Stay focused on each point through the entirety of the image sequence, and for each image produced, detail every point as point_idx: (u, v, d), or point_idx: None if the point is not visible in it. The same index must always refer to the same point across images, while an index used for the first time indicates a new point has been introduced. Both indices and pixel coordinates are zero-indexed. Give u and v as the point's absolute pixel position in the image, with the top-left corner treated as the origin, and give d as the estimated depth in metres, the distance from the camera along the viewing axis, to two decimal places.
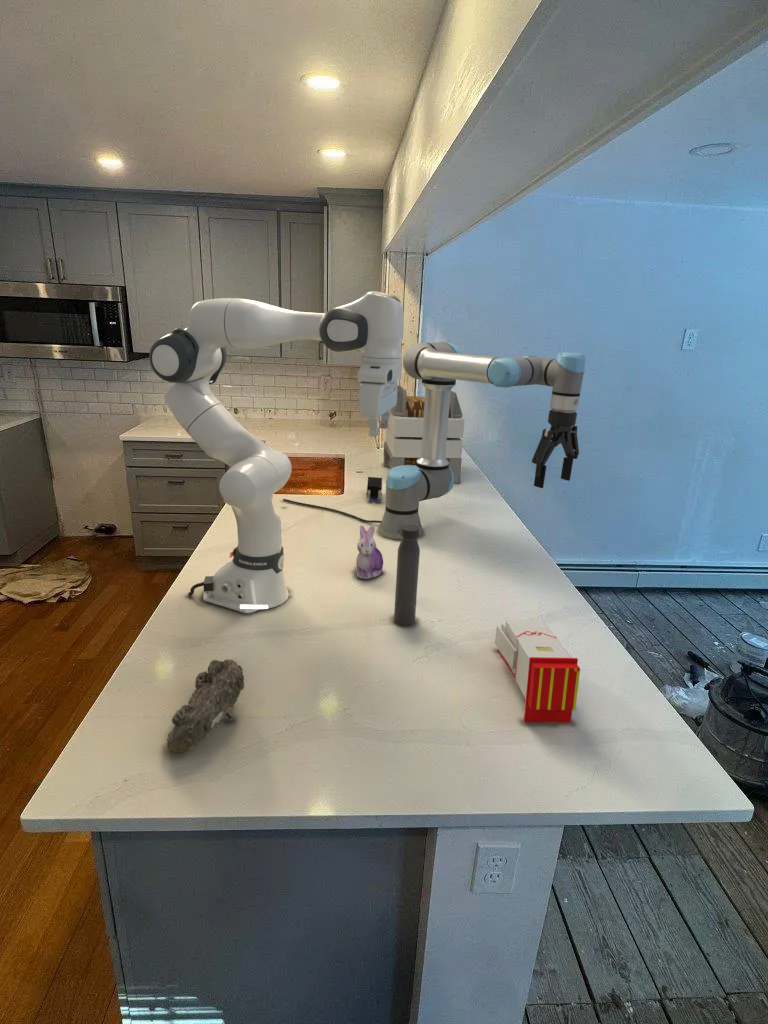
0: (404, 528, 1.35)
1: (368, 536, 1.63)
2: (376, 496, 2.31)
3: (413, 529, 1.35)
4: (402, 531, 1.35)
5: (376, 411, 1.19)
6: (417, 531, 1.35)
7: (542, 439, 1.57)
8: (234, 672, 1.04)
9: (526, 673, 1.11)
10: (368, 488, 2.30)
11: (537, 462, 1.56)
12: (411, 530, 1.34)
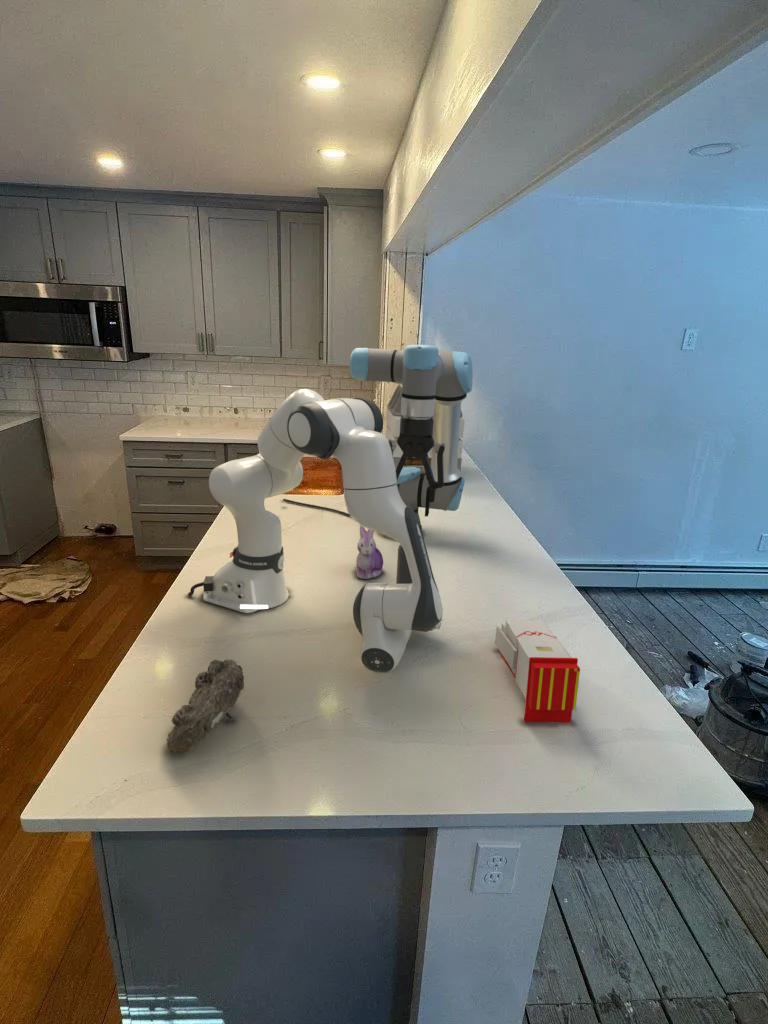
0: None
1: (368, 536, 1.63)
2: None
3: None
4: None
5: None
6: None
7: (442, 458, 1.29)
8: (234, 672, 1.04)
9: (526, 673, 1.11)
10: None
11: (443, 483, 1.32)
12: None
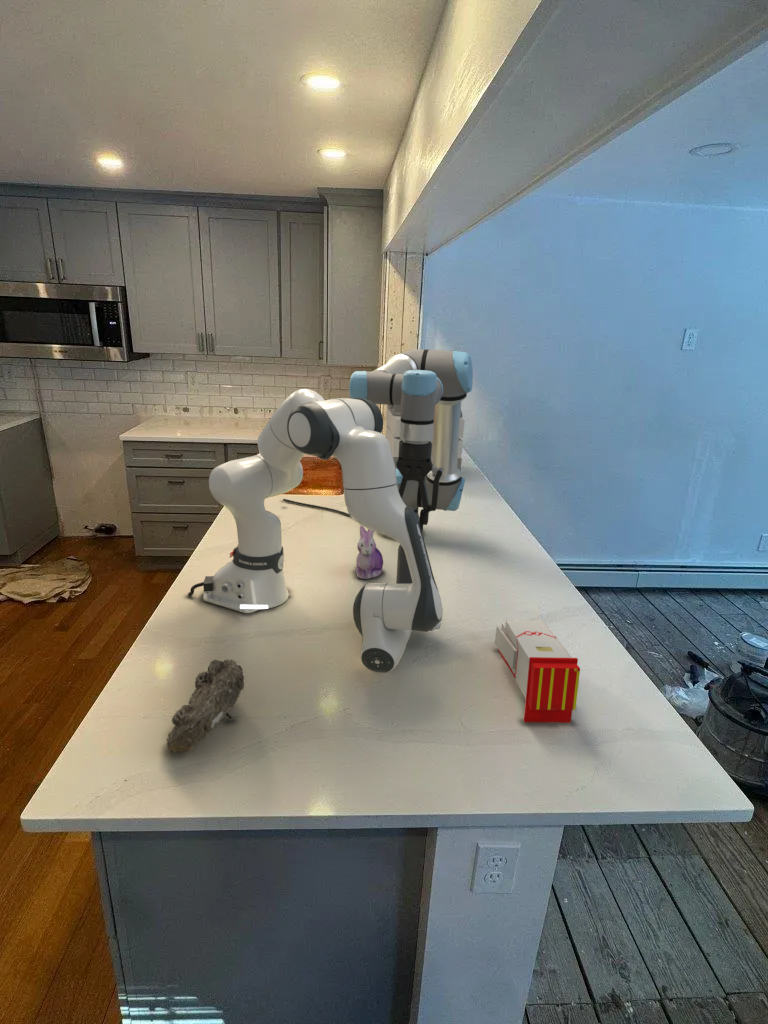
0: None
1: (368, 536, 1.63)
2: None
3: None
4: None
5: None
6: None
7: (438, 482, 1.31)
8: (234, 672, 1.04)
9: (526, 673, 1.11)
10: None
11: None
12: None
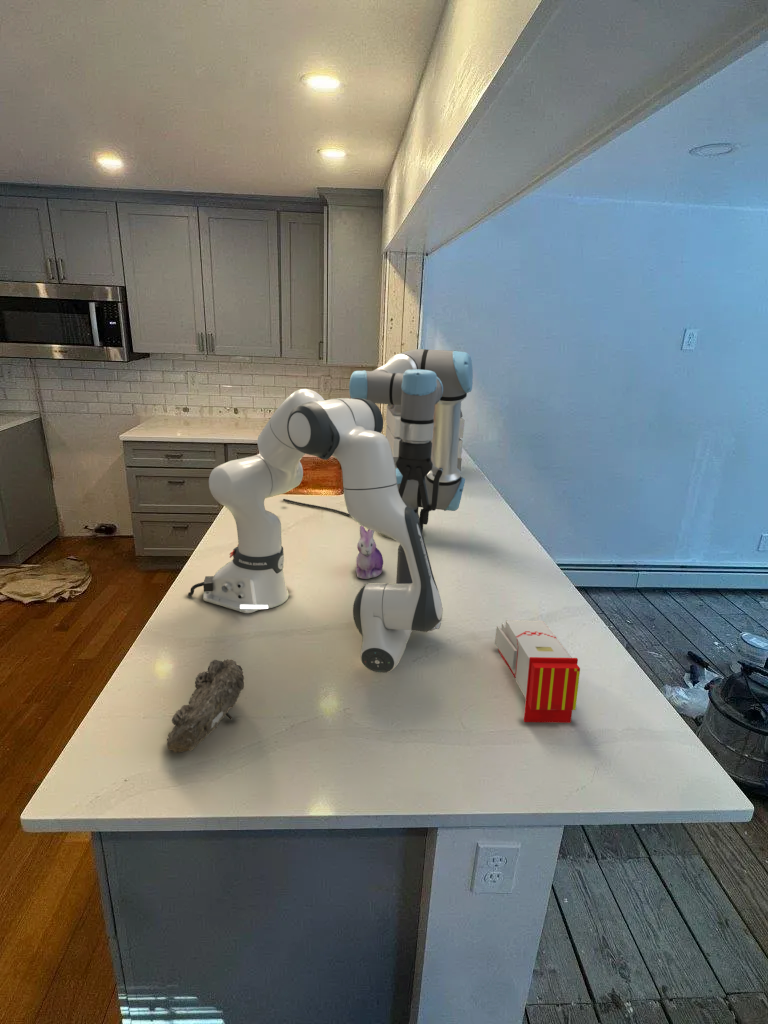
0: None
1: (368, 536, 1.63)
2: None
3: None
4: None
5: None
6: None
7: (438, 482, 1.31)
8: (234, 672, 1.04)
9: (526, 673, 1.11)
10: None
11: (436, 506, 1.34)
12: None
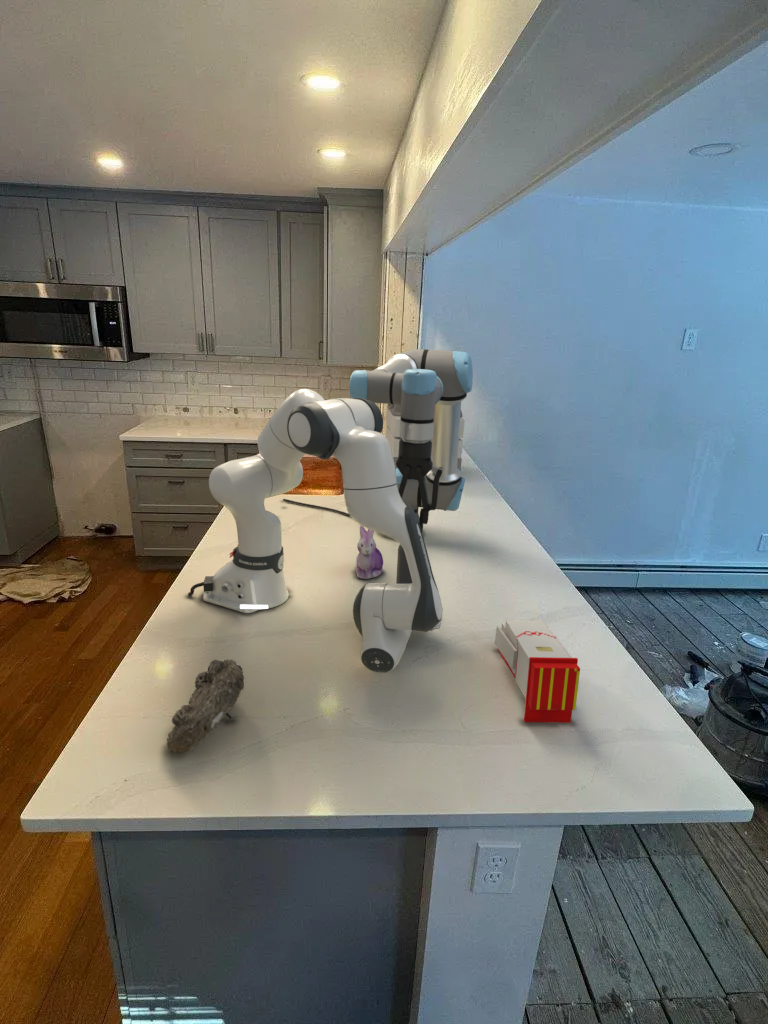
0: None
1: (368, 536, 1.63)
2: None
3: None
4: None
5: None
6: None
7: (438, 481, 1.31)
8: (234, 672, 1.04)
9: (526, 673, 1.11)
10: None
11: (436, 505, 1.34)
12: None
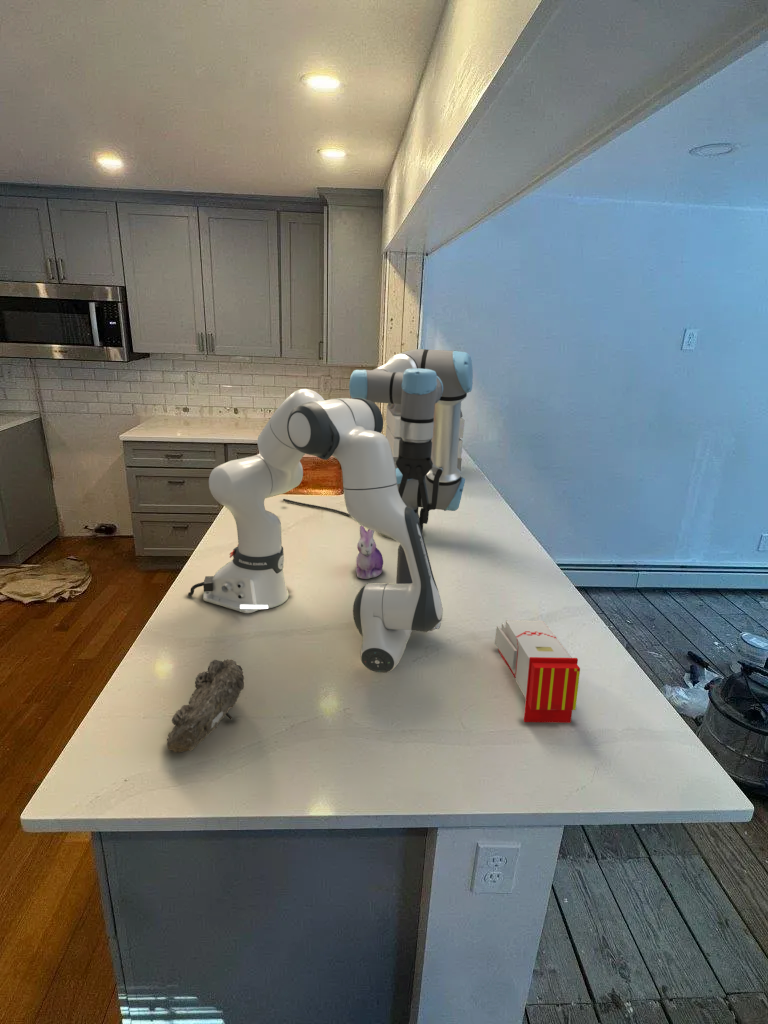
0: None
1: (368, 536, 1.63)
2: None
3: None
4: None
5: None
6: None
7: (438, 481, 1.30)
8: (234, 672, 1.04)
9: (526, 673, 1.11)
10: None
11: None
12: None
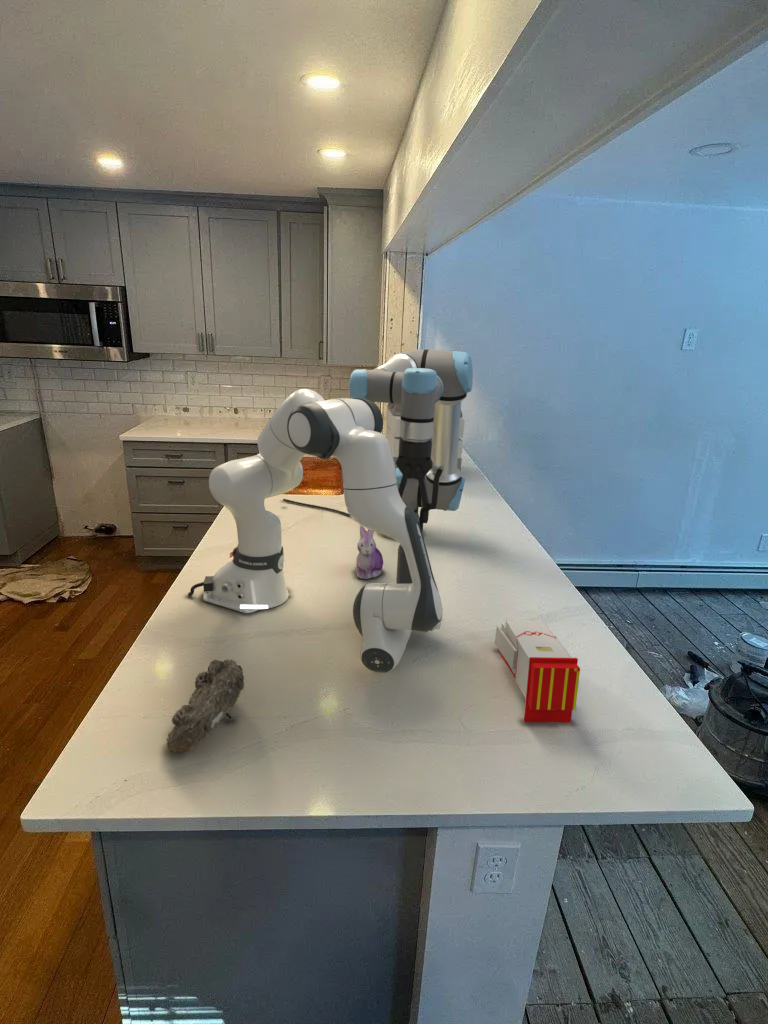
0: None
1: (368, 536, 1.63)
2: None
3: None
4: None
5: None
6: None
7: (438, 481, 1.30)
8: (234, 672, 1.04)
9: (526, 673, 1.11)
10: None
11: None
12: None
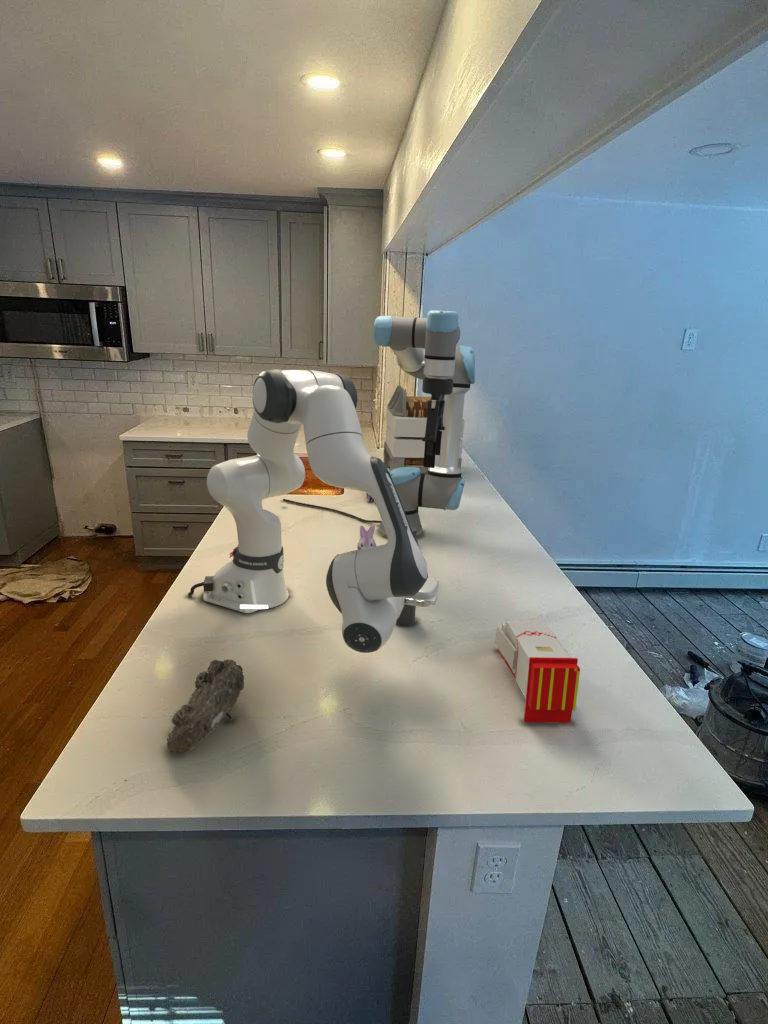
0: None
1: (368, 536, 1.63)
2: None
3: None
4: None
5: None
6: None
7: None
8: (234, 672, 1.04)
9: (526, 673, 1.11)
10: None
11: None
12: None
